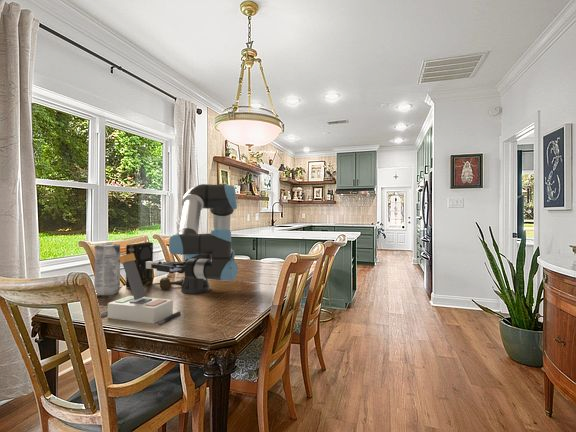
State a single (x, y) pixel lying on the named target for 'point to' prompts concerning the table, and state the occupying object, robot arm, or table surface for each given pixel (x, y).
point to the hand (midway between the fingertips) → (147, 264)
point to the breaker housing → (140, 309)
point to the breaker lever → (132, 275)
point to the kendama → (168, 283)
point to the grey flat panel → (158, 321)
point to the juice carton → (107, 269)
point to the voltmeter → (142, 261)
